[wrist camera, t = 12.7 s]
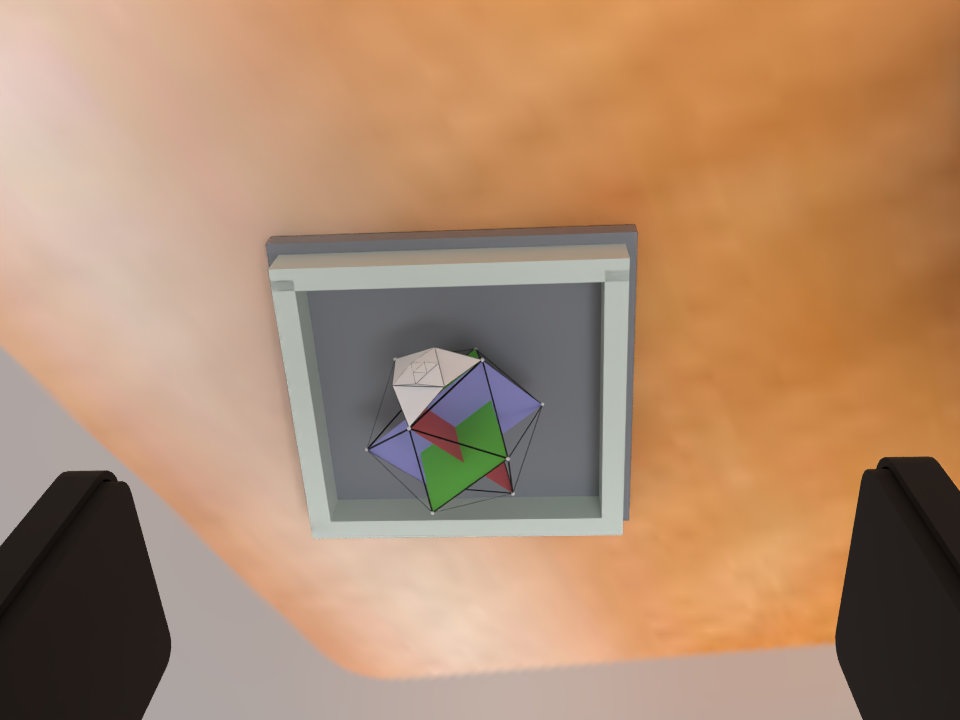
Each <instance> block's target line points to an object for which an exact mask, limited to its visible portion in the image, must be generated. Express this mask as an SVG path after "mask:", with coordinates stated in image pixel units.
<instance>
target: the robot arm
mask: <svg viewBox="0 0 960 720" xmlns="http://www.w3.org/2000/svg"><path fill="white" fill-rule="evenodd" d="M835 640H836V652H837V656H838V660H839V663H840V666H841V668H842V671H843V673H844V675H845V678H846V681H847V683H848V685H849V688H850V690H851V692H852V695H853V697H854V700H855V702H856V704H857V707H858V709H859V712H860V714H861V717H862V719H863V720H960V491H959V490H958V488H957V487H956V486H955V484H954V483H953V482H952V480H951V479H950V478H949V476H948V475H947V474H946V472H945V471H944V469H943V468H942V467H941V465H940V464H939V463H938V462H937V461H936V460H935V459H934V458H932V457H884V458H882V459H881V460H880V461H879V463H878V465H877V468H876V469H867V470H866V471H865V472H864V474H863V476H862V480H861V485H860V491H859V497H858V503H857V509H856V515H855V521H854V527H853V533H852V539H851V545H850V551H849V557H848V562H847V568H846V574H845V580H844V586H843V592H842V598H841V604H840V610H839V616H838V622H837V628H836V636H835ZM170 652H171V637H170V633H169V629H168V625H167V621H166V618H165V615H164V611H163V607H162V603H161V600H160V596H159V592H158V589H157V585H156V581H155V578H154V574H153V570H152V567H151V563H150V559H149V556H148V552H147V548H146V545H145V541H144V537H143V534H142V530H141V527H140V523H139V519H138V516H137V512H136V508H135V504H134V501H133V497H132V493H131V491H130V488H129V486H128V485H127V483H125V482H123V481H117V478H116V477H115V475H114V474H113V473H112V472H110V471H67V472H63V473H62V474H60V475H59V476H58V477H57V478H56V479H55V481H54V482H53V483H52V484H51V486H50V487H49V488H48V489H47V490H46V492H45V493H44V494H43V495H42V497H41V498H40V499H39V500H38V501H37V502H36V504H35V505H34V506H33V507H32V509H31V510H30V511H29V512H28V513H27V515H26V516H25V517H24V518H23V519H22V521H21V522H20V523H19V524H18V526H17V527H16V528H15V529H14V530H13V531H12V533H11V534H10V535H9V536H8V538H7V539H6V540H5V541H4V543H3V544H2V545H1V546H0V720H142V718H143V715H144V713H145V711H146V709H147V707H148V705H149V703H150V701H151V699H152V697H153V694H154V692H155V690H156V688H157V686H158V684H159V682H160V680H161V677H162V676H163V673H164V671H165V669H166V667H167V664H168V662H169V657H170Z"/></svg>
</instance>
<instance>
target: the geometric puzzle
mask: <svg viewBox="0 0 960 720" xmlns="http://www.w3.org/2000/svg"><path fill="white" fill-rule="evenodd" d="M468 350H472V351H471V352H470V353H468V354H467V355H463V354H460V353H456V352H458V351H453V352H452V351H448V350H445V349H441V348H437V347H432V348H429V349H426V350H422V351H419V352H416V353H413V354H409V355H406V356H403V357H399V358H394V359H393V360H394V363H395V364H393V366H394V372H393V380H392V387H393V390H394V392H395V395H396V397H397V400H398V402H399V405H400V407H401V410H400V411H399V412H398V413H397V414H396V416H395V417H394V418H393V419H392V420H391V421H390V422H389V424H388V425H387V426H386V427H385V428H384V429H383V430H382V432H381V433H380V434H379V435H378V436H377V437H376V439H375V440H374V441H373V442H372V443H371V444H370V445H369V443H368V445H369V447H368V446H367V448H365V451H368V452H369V453H370V452H371V453H372V454H374V455H376V456H378V457H379V458H381V459H383V460H385V461H386V462H388V463H390V464H391V465H393V466H395V467H397V468H398V469H400V470H402V471H404V472H405V473H407V474H409V475H411V476H412V477H414V478H416V479H417V480H419V481H421V482H423V483H424V487H425V490H426V494H427V497H428V501H429V505H430V508H431V510H430V509H429V508H428V507H427V506H426V505H425V504H424V503H423V502H422V503H423V504H424V505H425V506H426V507H427V508H428V509H429V510H430V511H431V515H434V513H435V512H436V511H437V510H438V509H440V508H441V507H443V506H444V505H445V504H447V503H448V502H449V501H451V500H452V499H454V498H455V497H456V496H458V495H459V494H461V493H462V492H463V491H465V490H471V491H483V492H495V493H508V494H507V495H509V494H511V495H514V494H515V493H514V490H515V487H516V484H517V481H518V478H519V475H520V472H521V469H522V466H523V463H524V460H525V457H526V454H527V451H528V448H529V445H530V442H531V439H532V436H533V433H534V430H535V427H536V424H537V421H538V418H539V415H540V412H541V409H542V406H544V403H543V402H542V403H540V402H539V401H538V400H537V399H535V398H534V397H533V396H532V395H531V394H529V393H528V392H527V391H526V390H525V389H523V388H522V387H521V386H520V385H519V384H517V383H516V382H515V381H514V380H513V379H511V378H510V377H509V376H508V375H507V374H505V373H504V372H503V371H502V370H501V369H499V368H498V367H497V366H496V365H495V364H493V363H492V362H491V361H490V360H489V359H487V358H486V357H485V356H484V355H483V354H481V353H480V352H479V351H478V350H477V348H474V350H473V349H468ZM461 351H466V350H461ZM478 352H479V353H480V354H481V355H483V356H484V357H485V358H486V359H487V360H489V361H490V362H491V363H492V364H493V365H495V366H496V367H497V368H498V369H499V370H500V371H502V372H503V373H504V374H505V375H506V376H508V377H509V378H510V379H511V380H512V381H514V382H515V383H516V384H517V385H518V386H517V385H516V384H515V383H513V382H512V381H510V380H509V379H508V378H506V377H505V376H504V375H502V374H501V373H500V372H498V371H497V370H496V369H494V368H493V367H492V366H490V365H489V364H488V363H486V362H485V361H484V358H482V357H481V356H480V354H479V353H478ZM478 355H479V357H480V358H481V359H479V358H478ZM392 369H393V367H392ZM391 372H392V371H391ZM390 375H391V374H390ZM389 378H390V377H389ZM388 381H389V380H388ZM387 385H388V383H387ZM519 386H520V387H521V388H522V389H521V388H520V387H519ZM386 388H387V386H386ZM385 391H386V390H385ZM525 391H526V392H525ZM384 394H385V393H384ZM383 397H384V396H383ZM382 400H383V399H382ZM381 404H382V402H381ZM380 407H381V405H380ZM538 408H540V409H539V410H538V412H539V411H540V412H539V415H538V418H537V421H536V424H535V427H534V430H533V433H532V436H531V439H530V442H529V445H528V448H527V451H526V454H525V457H524V460H523V463H522V466H521V469H520V472H519V475H518V478H517V481H516V484H515V487H514V490H513V484H512V476H511V469H510V462H509V460H510V456H511V455H512V453H513V451H514V450H515V448H516V447H517V445H518V444H519V442H520V440H521V439H522V437H523V436H524V434H525V433H526V431H527V429H528V428H529V426H530V425H531V423H532V422H533V420H534V419H535V417H536V415H537V414H538V412H537V413H536V415H535V416H534V418H533V420H532V421H531V423H530V424H529V426H528V427H527V429H526V430H525V432H524V434H523V435H522V437H521V438H520V440H519V441H518V443H517V445H516V446H515V448H514V449H513V451H512V452H511V454H510V455H509V457H508V453H507V449H506V446H505V442H504V438H503V434H504V433H505V432H506V431H508V430H509V429H510V428H512V427H513V426H514V425H516V424H517V423H519V422H520V421H521V420H523V419H524V418H525V417H527V416H528V415H530V414H531V413H532V412H534V411H535V410H536V409H538ZM379 410H380V409H379ZM401 411H402V412H403V415H404V417H405V420H404V421H403V422H402V423H400V424H399V425H398V426H396V427H395V428H394V429H393V430H391V431H390V432H389V433H387V434H386V435H385V436H384V437H382V438H381V439H380V440H378V441H377V442H376V443H375V444H373V443H374V442H375V441H376V440H377V439H378V438H379V437H380V435H381V434H382V433H383V432H384V431H385V430H386V428H387V427H388V426H389V425H390V424H391V423H392V422H393V420H394V419H395V418H396V417H397V416H398V415H399V414H400V412H401ZM378 413H379V412H378ZM377 416H378V415H377ZM376 419H377V418H376ZM375 423H376V421H375ZM374 426H375V424H374ZM373 429H374V427H373ZM372 432H373V431H372ZM371 435H372V434H371ZM370 438H371V437H370ZM369 442H370V440H369ZM371 453H370V454H371ZM372 454H371V455H372ZM376 459H377V458H376ZM377 460H378V459H377ZM378 461H379V460H378ZM505 461H508V468H509V474H508V471H507V467H506V464H505ZM379 462H380V461H379ZM380 463H381V462H380ZM381 464H382V463H381ZM382 465H383V464H382ZM383 466H384V465H383ZM384 467H385V466H384ZM385 468H386V467H385ZM386 469H387V468H386ZM387 470H388V469H387ZM388 471H389V470H388ZM389 472H390V471H389ZM390 473H391V472H390ZM391 474H392V473H391ZM392 475H393V474H392ZM509 475H510V478H509ZM393 476H394V475H393ZM484 476H486V477H487V478H489V479H491V480H492V481H494V482H495V483H497V484H499V485H500V486H502V487H504V488H505V489H507V490H508V491H510V492H499V491H486V490H474V489H468V488H469V487H470V486H472V485H473V484H475V483H476V482H477V481H479V480H480V479H482V478H483V477H484ZM394 477H395V476H394ZM395 478H396V477H395ZM399 481H400V480H399ZM400 482H401V481H400ZM401 483H402V482H401ZM402 484H403V483H402ZM403 485H404V484H403ZM426 485H427V488H428V491H427V488H426ZM404 486H405V485H404ZM405 487H406V486H405ZM406 488H407V487H406ZM407 489H408V488H407ZM408 490H409V489H408ZM409 491H410V490H409ZM410 492H411V491H410ZM511 492H512V493H511ZM411 493H412V492H411ZM428 493H429V495H428ZM412 494H413V493H412ZM413 495H414V494H413ZM414 496H415V495H414ZM503 496H505V495H503ZM415 497H416V496H415ZM499 497H501V496H499ZM416 498H417V497H416ZM495 498H497V497H495ZM417 499H418V498H417ZM491 499H493V498H491ZM418 500H419V499H418ZM487 500H489V499H487ZM482 501H484V500H482ZM478 502H480V501H478ZM474 503H476V502H474ZM470 504H472V503H470ZM466 505H468V504H466ZM462 506H464V505H462ZM458 507H460V506H458ZM453 508H456V507H453ZM449 509H451V508H449ZM445 510H447V509H445ZM441 511H443V510H441ZM437 512H439V511H437Z"/></svg>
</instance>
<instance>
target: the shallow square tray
mask: <svg viewBox="0 0 960 720" xmlns="http://www.w3.org/2000/svg"><path fill="white" fill-rule="evenodd" d="M637 236H638V232H637V229H636V226H635V224H634V225H605V226H575V227H545V228H516V229H486V230H456V231H427V232H397V233H368V234H338V235H308V236H279V237H271V238H270V239H269V241H268V242H267V243H266V250H267V256H268V262H269V269H268V273H269V279H270V285H271V291H272V297H273V303H274V309H275V315H276V321H277V327H278V333H279V339H280V345H281V350H282V356H283V362H284V368H285V374H286V380H287V386H288V392H289V398H290V404H291V410H292V416H293V422H294V428H295V434H296V440H297V446H298V452H299V458H300V464H301V470H302V476H303V482H304V488H305V494H306V500H307V506H308V512H309V518H310V524H311V530H312V536H313V539H324V538H411V537H497V536H583V535H623V520H629V506H630V472H631V439H632V405H633V371H634V337H635V304H636V270H637ZM432 347H437V348H441V349H445V350H448V351H452V352H453V351H458V352H456V353H460V354H463V355H467V354H468V353H470V352H471V351H472V350H468V349H473V350H474V348H477V350H478V351H479V352H480V353H481V354H483V355H484V356H485V357H486V358H487V359H489V360H490V361H491V362H492V363H493V364H495V365H496V366H497V367H498V368H499V369H501V370H502V371H503V372H504V373H505V374H507V375H508V376H509V377H510V378H511V379H513V380H514V381H515V382H516V383H517V384H519V385H520V386H521V387H522V388H523V389H525V390H526V391H527V392H528V393H529V394H531V395H532V396H533V397H534V398H535V399H537V400H538V401H539V402H540V403H542V402H543V403H544V406H542V409H541V412H540V411H539V412H540V415H539V412H538V410H539V409H540V408H538V409H536V410H535V411H534V412H532V413H531V414H530V415H528V416H527V417H525V418H524V419H523V420H521V421H520V422H519V423H517V424H516V425H514V426H513V427H512V428H510V429H509V430H508V431H506V432H505V433H504V434H503V438H504V442H505V446H506V449H507V453H508V457H509V455H510V454H511V452H512V451H513V449H514V448H515V446H516V445H517V443H518V441H519V440H520V438H521V437H522V435H523V434H524V432H525V430H526V429H527V427H528V426H529V424H530V423H531V421H532V420H533V418H534V416H535V415H536V413H537V412H538V414H537V415H536V417H535V419H534V420H533V422H532V423H531V425H530V426H529V428H528V429H527V431H526V433H525V434H524V436H523V437H522V439H521V440H520V442H519V444H518V445H517V447H516V448H515V450H514V451H513V453H512V455H511V456H510V460H509V462H510V469H511V476H512V484H513V490H514V487H515V484H516V481H517V478H518V475H519V472H520V469H521V466H522V463H523V460H524V457H525V454H526V451H527V448H528V445H529V442H530V439H531V436H532V433H533V430H534V427H535V424H536V421H537V418H538V415H539V418H538V421H537V424H536V427H535V430H534V433H533V436H532V439H531V442H530V445H529V448H528V451H527V454H526V457H525V460H524V463H523V466H522V469H521V472H520V475H519V478H518V481H517V484H516V487H515V490H514V493H515V494H514V495H511V494H509V495H507V494H508V493H495V492H483V491H471V490H465V491H463V492H462V493H461V494H459V495H458V496H456V497H455V498H454V499H452V500H451V501H449V502H448V503H447V504H445V505H444V506H443V507H441V508H440V509H438V510H437V511H439V512H437V511H436V512H435V513H434V515H431V511H430V510H431V508H430V505H429V501H428V497H427V494H426V490H425V487H424V483H423V482H421V481H419V480H417V479H416V478H414V477H412V476H411V475H409V474H407V473H405V472H404V471H402V470H400V469H398V468H397V467H395V466H393V465H391V464H390V463H388V462H386V461H385V460H383V459H381V458H379V457H378V456H376V455H374V454H372V453H371V452H370V453H371V454H372V455H371V454H370V453H369V452H368V451H365V448H367V446H368V447H369V445H370V444H371V443H372V442H373V441H374V440H375V439H376V437H377V436H378V435H379V434H380V433H381V432H382V430H383V429H384V428H385V427H386V426H387V425H388V424H389V422H390V421H391V420H392V419H393V418H394V417H395V416H396V414H397V413H398V412H399V411H400V410H401V407H400V405H399V402H398V400H397V397H396V395H395V392H394V390H393V387H392V380H393V372H394V366H393V364H395V363H394V360H393V359H394V358H399V357H403V356H406V355H409V354H413V353H416V352H419V351H422V350H426V349H429V348H432ZM461 350H466V351H461ZM479 352H478V353H479ZM480 353H479V354H480ZM481 354H480V356H481V357H482V358H484V361H485V362H486V363H488V364H489V365H490V366H492V367H493V368H494V369H496V370H497V371H498V372H500V373H501V374H502V375H504V376H505V377H506V378H508V379H509V380H510V381H512V380H511V379H510V378H509V377H508V376H506V375H505V374H504V373H503V372H502V371H500V370H499V369H498V368H497V367H496V366H495V365H493V364H492V363H491V362H490V361H489V360H487V359H486V358H485V357H484V356H483V355H481ZM478 358H479V359H481V358H480V357H479V355H478ZM392 367H393V369H392ZM391 371H392V372H391ZM390 374H391V375H390ZM389 377H390V378H389ZM388 380H389V381H388ZM514 381H512V382H513V383H515V382H514ZM387 383H388V385H387ZM516 383H515V384H516ZM517 384H516V385H517ZM386 386H387V388H386ZM517 386H518V385H517ZM520 386H519V387H520ZM521 387H520V388H521ZM522 388H521V389H522ZM385 390H386V391H385ZM526 391H525V392H526ZM384 393H385V394H384ZM383 396H384V397H383ZM382 399H383V400H382ZM381 402H382V404H381ZM380 405H381V407H380ZM379 409H380V410H379ZM378 412H379V413H378ZM377 415H378V416H377ZM376 418H377V419H376ZM404 420H405V417H404V415H403V412H402V411H401V412H400V414H399V415H398V416H397V417H396V418H395V419H394V420H393V422H392V423H391V424H390V425H389V426H388V427H387V428H386V430H385V431H384V432H383V433H382V434H381V435H380V437H379V438H378V439H377V440H376V441H375V442H374V443H373V444H375V443H376V442H377V441H378V440H380V439H381V438H382V437H384V436H385V435H386V434H387V433H389V432H390V431H391V430H393V429H394V428H395V427H396V426H398V425H399V424H400V423H402V422H403V421H404ZM375 421H376V423H375ZM374 424H375V426H374ZM373 427H374V429H373ZM372 431H373V432H372ZM371 434H372V435H371ZM370 437H371V438H370ZM369 440H370V442H369ZM368 443H369V445H368ZM376 458H377V459H378V460H379V461H380V462H381V463H382V464H383V465H384V466H385V467H386V468H387V469H388V470H389V471H390V472H391V473H392V474H393V475H394V476H395V477H396V478H395V477H394V476H393V475H392V474H391V473H390V472H389V471H388V470H387V469H386V468H385V467H384V466H383V465H382V464H381V463H380V462H379V461H378V460H377V459H376ZM505 464H506V467H507V471H508V474H509V468H508V461H505ZM509 478H510V475H509ZM399 480H400V481H401V482H402V483H403V484H404V485H405V486H406V487H407V488H408V489H409V490H410V491H411V492H412V493H413V494H414V495H415V496H416V497H417V498H418V499H419V500H418V499H417V498H416V497H415V496H414V495H413V494H412V493H411V492H410V491H409V490H408V489H407V488H406V487H405V486H404V485H403V484H402V483H401V482H400V481H399ZM426 488H427V485H426ZM468 489H474V490H486V491H499V492H510V491H508V490H507V489H505V488H504V487H502V486H500V485H499V484H497V483H495V482H494V481H492V480H491V479H489V478H487V477H486V476H484V477H483V478H482V479H480V480H479V481H477V482H476V483H475V484H473V485H472V486H470V487H469V488H468ZM427 491H428V488H427ZM511 493H512V492H511ZM428 495H429V493H428ZM503 495H505V496H503ZM499 496H501V497H499ZM495 497H497V498H495ZM491 498H493V499H491ZM487 499H489V500H487ZM482 500H484V501H482ZM478 501H480V502H478ZM422 502H423V503H424V504H425V505H426V506H427V507H428V508H429V509H430V510H429V509H428V508H427V507H426V506H425V505H424V504H423V503H422ZM474 502H476V503H474ZM470 503H472V504H470ZM466 504H468V505H466ZM462 505H464V506H462ZM458 506H460V507H458ZM453 507H456V508H453ZM449 508H451V509H449ZM445 509H447V510H445ZM441 510H443V511H441Z"/></svg>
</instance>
